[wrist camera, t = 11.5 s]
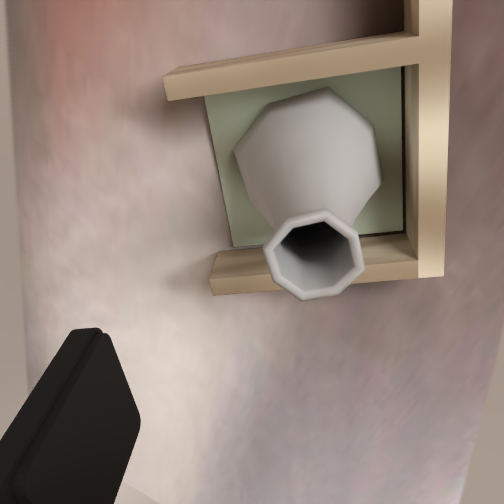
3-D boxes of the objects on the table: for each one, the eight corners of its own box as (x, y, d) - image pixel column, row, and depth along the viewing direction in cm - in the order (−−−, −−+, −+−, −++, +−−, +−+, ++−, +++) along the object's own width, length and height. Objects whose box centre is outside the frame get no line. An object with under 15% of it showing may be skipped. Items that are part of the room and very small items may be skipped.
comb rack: (118, -211, 18) (87, -245, 16) (437, -292, 16) (463, -347, 14) (221, 267, 28) (212, 295, 25) (429, 247, 26) (443, 275, 23)
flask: (287, 250, 27) (280, 376, 18) (209, 143, 24) (157, 228, 15) (407, 183, 24) (469, 291, 15) (334, 56, 22) (359, 99, 13)
